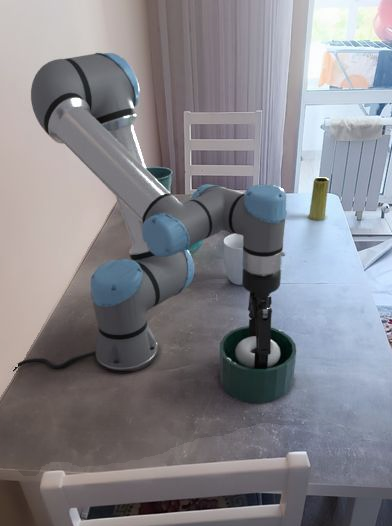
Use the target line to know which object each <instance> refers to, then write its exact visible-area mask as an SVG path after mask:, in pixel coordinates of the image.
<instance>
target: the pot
mask: <svg viewBox="0 0 392 526" xmlns="http://www.w3.org/2000/svg"><path fill="white" fill-rule="evenodd" d="M248 337H249V325H247V326H241V327H238V328H235V329H232V330H230V331H229V332H228V333H226V334H225V335H223V337H222V339H221V340H220V343H219V381H220V384H221V386H222V388H223V389H224V391H225V392H226V393H228V395H230V396H232V397H233V398H235V399H237V400H240V401H243V402H247V403H254V404H263V403H269V402H273V401H274V402H275V401H277V400H279V399H281V398H283V397H284V396H285V395H286V394H287V393H288V392H289V391H290V390H291V388H292V386H293V381H294V376H295V367H296V357H297V346H296V343H295V342H294V340H293V339H292V337H291V336H289V335H288V334H287V333H285V332H284V331H283V330H280V329H277V328H275V327H272V326H271V340H273V341H274V342H275V343H276V344H277V345H278V346H279V348H280V354H281V355H280V358H279V360H278V362H277V363H276V364H275V365H273V366H271V367H269V368H267V369H251V368H248V367H246V366H243V365H242V364H241V363H240V362H239V361H238V360H237V358H236V355H235V349H236V347H237V345H238V343H240V342H241V341H242V340H243V339H246V338H248ZM251 353H254V354H255V352H253V351H252V352H251Z"/></svg>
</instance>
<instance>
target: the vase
mask: <svg viewBox="0 0 392 526" xmlns="http://www.w3.org/2000/svg"><path fill="white" fill-rule="evenodd" d="M329 182H330V180H329V178H327V177H315V178H314V179H313V186H312V192H311V199H310V206H309V207H310V208H309V214H308V218H309V219H310V220H313V221H322V220H325V218H326V212H327V211H326V210H327V209H326V208H327V199H328V189H329Z"/></svg>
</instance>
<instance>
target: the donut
mask: <svg viewBox="0 0 392 526" xmlns="http://www.w3.org/2000/svg"><path fill="white" fill-rule="evenodd" d="M255 348H256V336H252V337H248V338H246V339H243V340H242V341H241V342H240V343H238V345H237V347H236V349H235V355H236V358H237V360H238V361H239V362H240V363H241V364H242V365H243V366H246V367H248V368H251V369H254V359H255V354H254V353H251V352H252V351H253V349H255ZM280 355H281V354H280V348H279V346H278V345H277V344H276V343H275V342H274V341H273V340H271V354H269V355H268V365H267V368H269V367H271V366H273V365H275V364H276V363H277V362H278V360H279V358H280Z"/></svg>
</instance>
